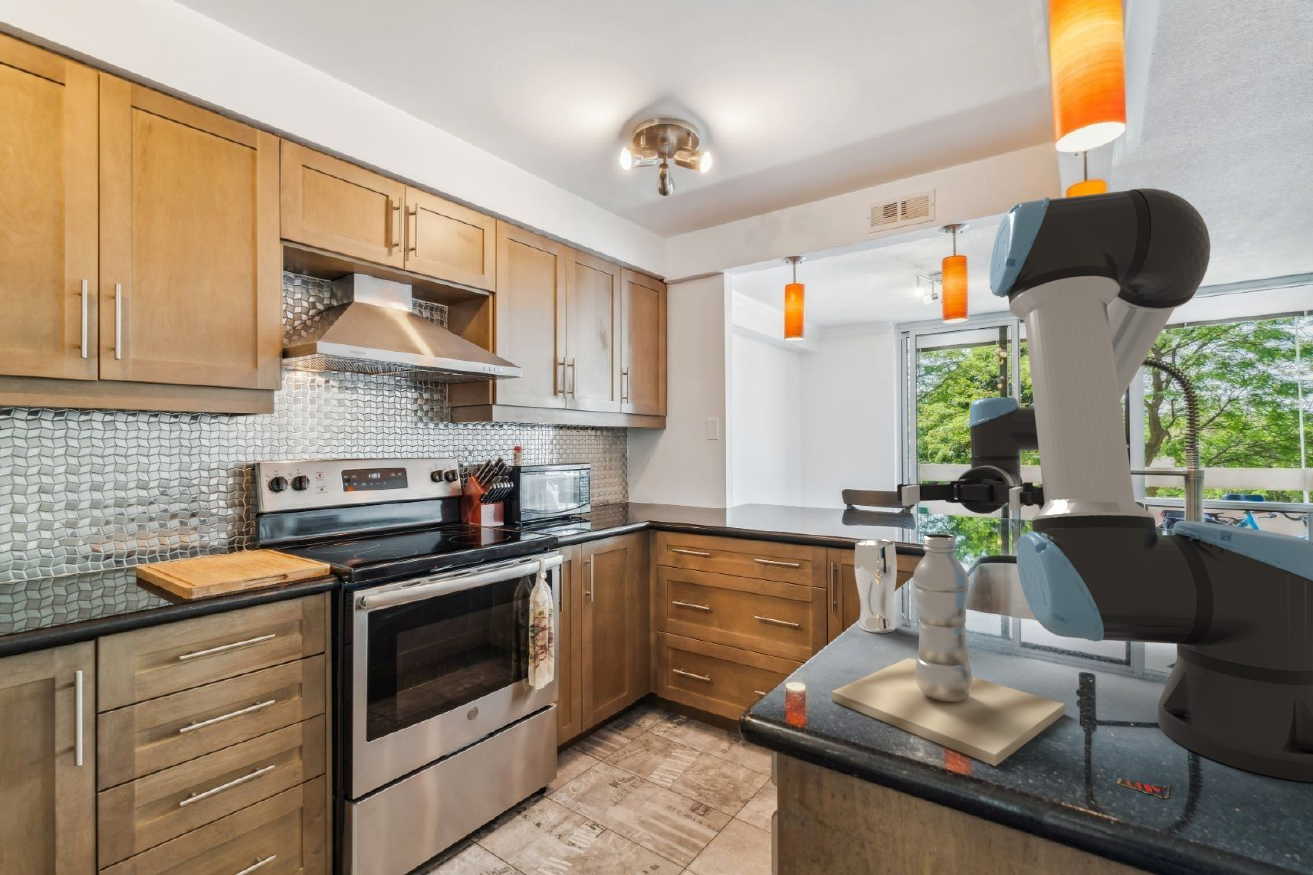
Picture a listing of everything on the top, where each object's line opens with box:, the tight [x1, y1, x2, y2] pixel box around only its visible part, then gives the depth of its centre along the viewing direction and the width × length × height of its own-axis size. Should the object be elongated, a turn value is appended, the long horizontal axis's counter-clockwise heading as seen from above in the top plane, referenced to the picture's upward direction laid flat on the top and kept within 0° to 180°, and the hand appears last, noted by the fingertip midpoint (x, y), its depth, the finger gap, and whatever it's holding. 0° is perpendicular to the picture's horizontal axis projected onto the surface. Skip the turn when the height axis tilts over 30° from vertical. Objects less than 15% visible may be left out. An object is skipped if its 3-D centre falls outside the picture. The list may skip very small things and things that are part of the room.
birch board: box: [831, 657, 1065, 767], centre depth 75 cm, size 20×18×1 cm
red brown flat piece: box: [1116, 773, 1172, 799], centre depth 59 cm, size 5×5×1 cm
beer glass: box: [853, 538, 898, 634], centre depth 106 cm, size 7×7×15 cm
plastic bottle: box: [912, 533, 973, 702], centre depth 75 cm, size 6×7×20 cm
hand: (955, 498), depth 84 cm, fingers open, 13 cm apart
